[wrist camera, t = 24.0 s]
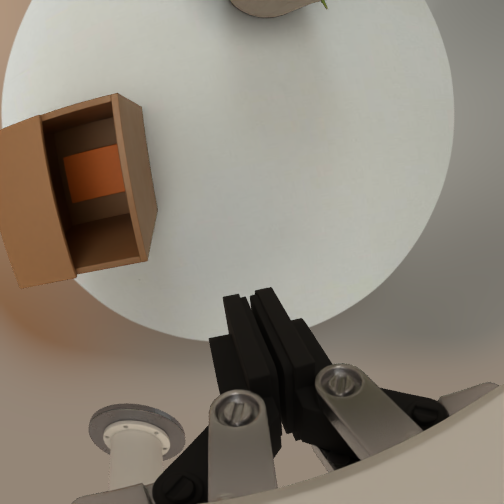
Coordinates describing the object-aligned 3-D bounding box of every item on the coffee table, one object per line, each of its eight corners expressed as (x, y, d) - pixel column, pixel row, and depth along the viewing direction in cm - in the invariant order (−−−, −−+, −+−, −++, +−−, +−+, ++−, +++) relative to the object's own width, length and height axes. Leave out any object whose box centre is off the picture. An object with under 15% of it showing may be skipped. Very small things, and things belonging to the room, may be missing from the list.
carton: (157, 210, 35) (147, 261, 22) (71, 228, 34) (23, 285, 21) (141, 106, 31) (117, 92, 18) (51, 130, 29) (-15, 137, 16)
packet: (134, 139, 31) (130, 140, 29) (141, 183, 33) (138, 188, 31) (71, 154, 30) (62, 157, 27) (79, 197, 32) (72, 203, 29)
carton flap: (77, 275, 21) (76, 278, 21) (21, 286, 20) (20, 289, 20) (41, 114, 16) (39, 114, 16) (-17, 137, 15) (-20, 138, 15)
